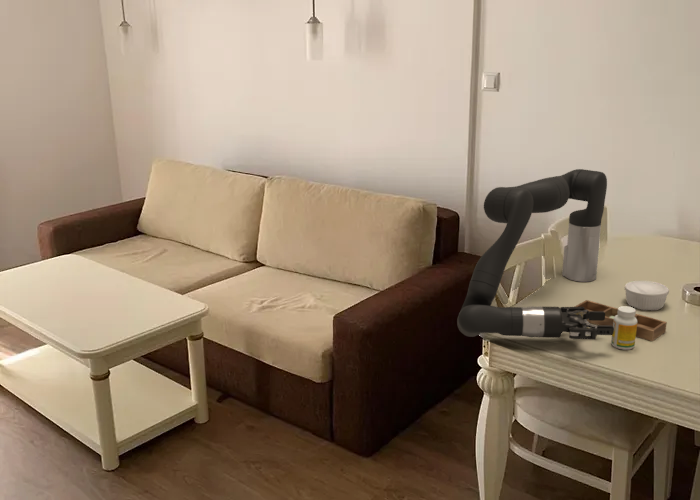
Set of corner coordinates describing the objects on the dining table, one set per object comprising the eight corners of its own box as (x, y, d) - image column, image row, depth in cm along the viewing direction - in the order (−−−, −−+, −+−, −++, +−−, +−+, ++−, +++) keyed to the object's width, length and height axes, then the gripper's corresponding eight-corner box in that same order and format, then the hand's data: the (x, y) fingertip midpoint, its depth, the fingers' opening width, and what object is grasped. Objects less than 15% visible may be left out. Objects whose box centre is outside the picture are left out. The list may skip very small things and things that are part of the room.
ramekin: (615, 304, 199) (616, 286, 198) (637, 294, 206) (639, 277, 204) (652, 316, 191) (654, 297, 189) (674, 305, 197) (676, 287, 196)
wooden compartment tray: (571, 317, 191) (572, 307, 190) (585, 309, 196) (586, 299, 195) (651, 341, 176) (653, 331, 175) (665, 331, 181) (666, 322, 180)
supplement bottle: (606, 343, 175) (609, 307, 172) (622, 339, 177) (626, 303, 174) (623, 352, 170) (627, 315, 167) (639, 347, 173) (643, 310, 170)
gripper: (545, 319, 166) (617, 320, 165) (536, 296, 180) (603, 297, 178) (544, 348, 169) (615, 350, 167) (535, 324, 182) (600, 325, 180)
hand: (608, 322), depth 172 cm, fingers open, 8 cm apart
